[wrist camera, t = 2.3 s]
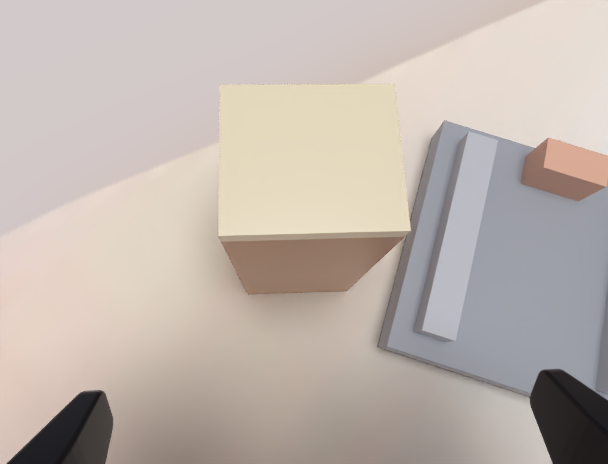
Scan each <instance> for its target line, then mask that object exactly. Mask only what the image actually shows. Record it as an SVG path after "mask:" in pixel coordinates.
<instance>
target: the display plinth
mask: <svg viewBox="0 0 608 464" xmlns="http://www.w3.org/2000/svg"><path fill="white" fill-rule="evenodd" d="M410 227H411V231H410V232H409V233H408V234H407V236H406V239H405V243H404V247H403V251H402V255H401V259H400V263H399V266H398V270H397V274H396V278H395V282H394V286H393V290H392V293H391V297H390V301H389V305H388V309H387V313H386V316H385V320H384V324H383V328H382V332H381V336H380V340H379V343H378V347H379V348H382V349H385V350H388V351H391V352H394V353H397V354H400V355H403V356H406V357H410V358H413V359H416V360H419V361H422V362H425V363H428V364H431V365H434V366H437V367H440V368H443V369H446V370H449V371H452V372H455V373H459V374H462V375H465V376H468V377H471V378H474V379H477V380H480V381H483V382H486V383H489V384H492V385H495V386H498V387H501V388H504V389H508V390H511V391H514V392H517V393H520V394H523V395H526V396H529V397H530V394H531V391H532V389H533V386H534V384H535V381H536V378H537V376H538V374H539V372H540V371H541V370H544V369H561V370H564V371H565V372H567V373H568V374H570V375H571V376H573V377H574V378H576V379H577V380H579V381H580V382H582V383H583V384H585V385H586V386H588V387H589V388H591V389H592V390H594V391H595V392H597V393H598V394H600V395H601V396H602V397H604V398H605V399H607V400H608V156H606V155H603V154H600V153H597V152H593V151H590V150H587V149H584V148H580V147H577V146H574V145H571V144H567V143H564V142H561V141H558V140H554V139H551V138H548V139H546V140H545V141H544V142H543V143H541V144H540V145H539V146H538V147H537V148H532V147H529V146H526V145H523V144H519V143H516V142H513V141H510V140H506V139H503V138H500V137H497V136H494V135H490V134H487V133H484V132H481V131H477V130H474V129H471V128H468V127H464V126H461V125H458V124H455V123H451V122H448V121H445V120H444V122H443V123H442V125H441V126H440V127H439V129H438V130H437V132H436V133H435V135H434V136H433V137H432V139H431V143H430V147H429V151H428V155H427V159H426V162H425V166H424V170H423V174H422V178H421V182H420V186H419V189H418V193H417V197H416V201H415V205H414V209H413V213H412V216H411V220H410Z"/></svg>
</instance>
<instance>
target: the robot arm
mask: <svg viewBox="0 0 608 464" xmlns="http://www.w3.org/2000/svg"><path fill="white" fill-rule="evenodd" d="M530 405H531V408H532V411H533V414H534V416H535V419H536V421H537V424H538V426H539V429H540V432H541V434H542V437H543V439H544V442H545V445H546V447H547V450H548V452H549V455H550V458H551V460H552V463H553V464H608V400H607V399H605V398H604V397H602V396H601V395H600V394H598V393H597V392H595V391H594V390H592V389H591V388H589V387H588V386H586V385H585V384H583V383H582V382H580V381H579V380H577V379H576V378H574V377H573V376H571V375H570V374H568V373H567V372H565V371H564V370H561V369H544V370H541V371H540V372H539V374H538V376H537V378H536V381H535V384H534V386H533V389H532V391H531V394H530ZM112 429H113V417H112V413H111V410H110V407H109V403H108V400H107V397H106V394H105V393H104V392H103V391H101V390H95V391H83V392H81V393H79V394H78V395H77V396H76V397H75V398H74V399H73V400H72V401H71V402H70V403H69V404H68V405H67V406H66V407H65V408H64V409H63V410H62V411H60V412H59V413H58V414H57V415H56V416H55V417H54V418H53V419H52V420H51V421H50V422H49V423H48V424H47V425H46V426H45V427H44V428H43V429H42V430H41V431H40V432H39V433H38V434H37V435H36V436H35V437H34V438H33V439H32V440H30V441H29V442H28V443H27V444H26V445H25V446H24V447H23V448H22V449H21V450H20V451H19V452H18V453H17V454H16V455H15V456H14V457H13V458H12V459H11V460H10V461H9V462H8V463H7V464H105V462H106V458H107V453H108V448H109V443H110V439H111V434H112Z"/></svg>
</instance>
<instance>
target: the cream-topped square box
mask: <svg viewBox="0 0 608 464" xmlns="http://www.w3.org/2000/svg"><path fill="white" fill-rule="evenodd" d="M219 104H220V105H219V108H220V109H219V112H220V113H219V206H218V236H219V238H220V240H221V242H222V244H223V246H224V248H225V250H226V252H227V254H228V256H229V258H230V260H231V262H232V264H233V266H234V268H235V270H236V272H237V274H238V276H239V278H240V280H241V282H242V284H243V286H244V288H245V290H246V292H247V294H274V293H302V292H331V291H347V290H348V289H349V288H351V287H352V286H353V285H354V284H355V283H356V282H357V281H358V280H359V279H360V278H361V277H362V276H363V275H364V274H365V273H367V272H368V271H369V270H370V269H371V268H372V267H373V266H374V265H375V264H376V263H377V262H378V261H379V260H380V259H381V258H383V257H384V256H385V255H386V254H387V253H388V252H389V251H390V250H391V249H392V248H393V247H394V246H395V245H396V244H397V243H399V242H400V241H401V240H402V239H403V238H404V237H405V236H406V235H407V234H408V233H409V232H410V231H411V227H410V218H409V209H408V200H407V191H406V182H405V173H404V164H403V155H402V146H401V137H400V128H399V119H398V110H397V101H396V92H395V84H317V85H316V84H315V85H314V84H311V85H310V84H306V85H305V84H299V85H298V84H297V85H220V102H219Z"/></svg>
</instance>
